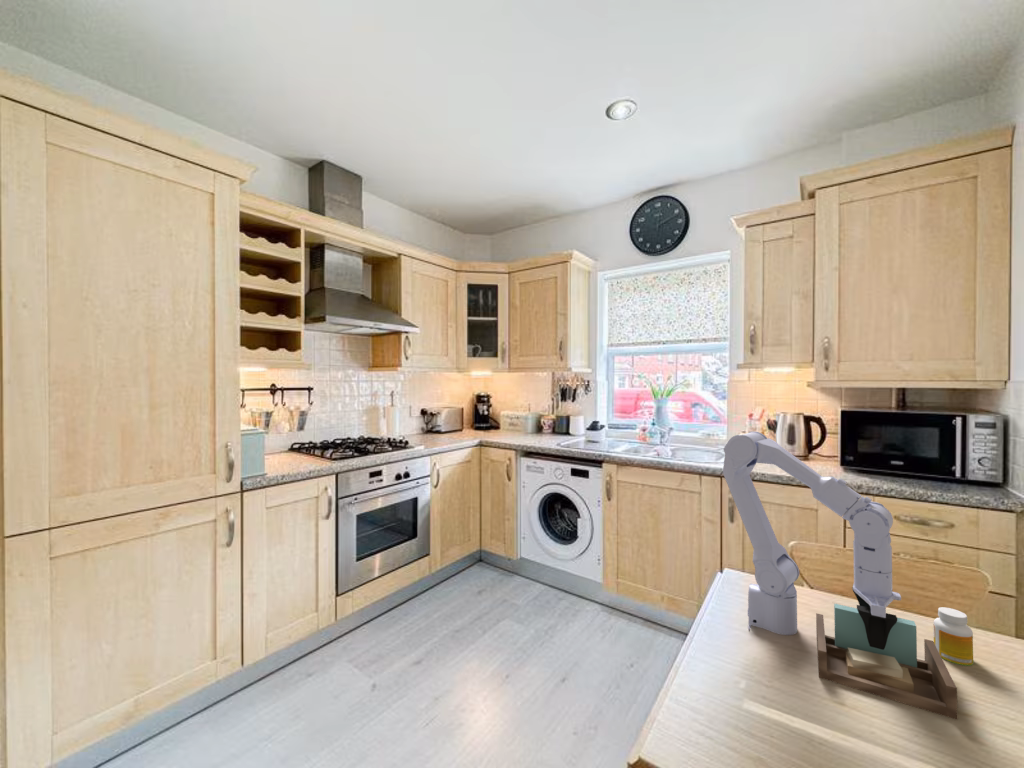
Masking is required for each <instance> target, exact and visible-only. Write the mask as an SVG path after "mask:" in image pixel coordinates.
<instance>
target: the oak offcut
mask: <svg viewBox="0 0 1024 768" xmlns="http://www.w3.org/2000/svg"><path fill="white" fill-rule="evenodd" d="M846 664H847V671H848V674H851V675H854V676H858V677H861V678H865V679H868V680H872V681H875V682H878V683H882V684H885V685H889V686H892V687H895V688H899V689H902V690H906V691H909V692H912V693H914V684H913V681H912V679H911V676H910V673H909V671H908V668H905V667H901V666H900V667H901V668H902V670H903V679H902V678H897V677H893V676H888V675H884V674H879V673H875V672H871V671H866V670H862V669H857V668H853V666H852V663H851V661H850V659H849V657H848V652H846Z"/></svg>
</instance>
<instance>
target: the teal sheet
mask: <svg viewBox="0 0 1024 768" xmlns="http://www.w3.org/2000/svg"><path fill="white" fill-rule="evenodd" d="M833 610H834V613H833V615H834V637H835V646H838V647H841V648H845V649H848V648H853V649H858V650H863V651H867V652H872V653H877V654H882V655H886V656H891V657H895V659H896V660H897V662H898V663H901V664H905V665H909V666H912V667H916V668H917V659H918V647H917V646H918V645H917V641H918V637H917V625H916V622H915V621H914V620H911V619H905V618H901V617H897V622H896V624H895V625H894V626H893V627H892V628H891V630H890V632H889V635H888V639H887V643H886V646H885V649H884V650H882V649H878V648H874V647H870V645H869V642H868V639H867V634H866V629H865V625H864V622H863V620H862V618H861V616H860V614H859V612H858V610H857V607H852V606H847V605H843V604H838V603H833Z"/></svg>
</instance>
